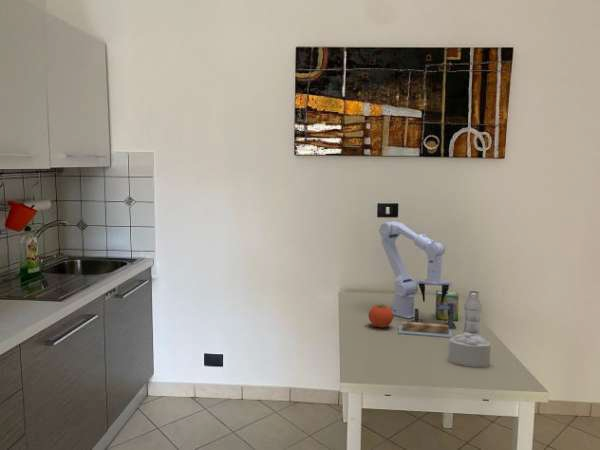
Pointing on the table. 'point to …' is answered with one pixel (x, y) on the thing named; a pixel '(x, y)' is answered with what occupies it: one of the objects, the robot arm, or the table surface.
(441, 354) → the table surface
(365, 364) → the table surface
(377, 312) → the tomato
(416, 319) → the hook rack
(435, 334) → the mat
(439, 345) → the table surface
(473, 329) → the plastic bottle
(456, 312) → the chalk box
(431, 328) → the wavy strip
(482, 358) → the lumpy-topped squat cylinder
